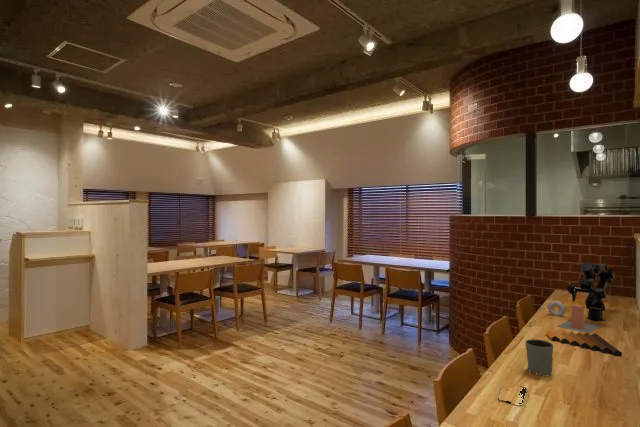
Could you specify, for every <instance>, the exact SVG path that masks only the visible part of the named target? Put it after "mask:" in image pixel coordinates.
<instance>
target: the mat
mask: <svg viewBox="0 0 640 427" xmlns="http://www.w3.org/2000/svg"><path fill="white" fill-rule="evenodd" d="M556 327H557V328H562V329H565V330H566V329H567V330H572V331H576V332H580V333H584V334H585V333H589V334H590V333H592V332H594V331H595V330H597V329H599V328H602V326H601V325H597V324H593V323H588V322H584V329H582V330H581V329H576V328H572V327H571V319H569V320H567V321H565V322H562V323H561V324H558V325H556Z"/></svg>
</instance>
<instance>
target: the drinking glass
mask: <svg viewBox="0 0 640 427" xmlns="http://www.w3.org/2000/svg"><path fill="white" fill-rule="evenodd" d="M525 349H526V359H527V368H528V369H529V370H530V371H531V372H534V373H537V374H540V375H539V376H541V375H549V376H551V375H552V373H553V359H554V357H553V354H554V344H553V343H552V342H550V341H547V340H542V339H536V338H535V339H534V338H533V339H527V340H525ZM528 369H527V370H528ZM529 370H528V371H529ZM530 371H529V372H530ZM531 372H530V373H531Z"/></svg>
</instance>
